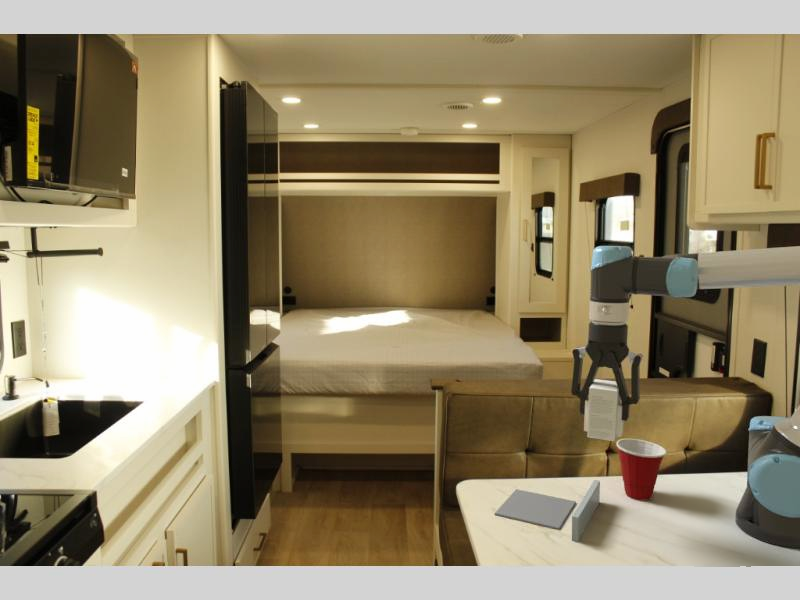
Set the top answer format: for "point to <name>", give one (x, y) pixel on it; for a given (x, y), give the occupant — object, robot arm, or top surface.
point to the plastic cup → (639, 466)
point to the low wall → (585, 510)
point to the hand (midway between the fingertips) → (603, 431)
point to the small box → (603, 410)
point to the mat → (536, 509)
